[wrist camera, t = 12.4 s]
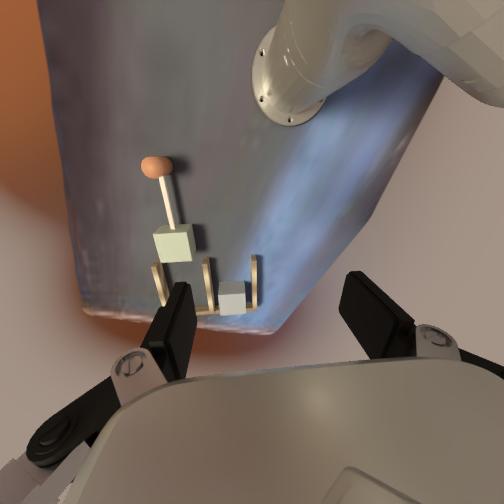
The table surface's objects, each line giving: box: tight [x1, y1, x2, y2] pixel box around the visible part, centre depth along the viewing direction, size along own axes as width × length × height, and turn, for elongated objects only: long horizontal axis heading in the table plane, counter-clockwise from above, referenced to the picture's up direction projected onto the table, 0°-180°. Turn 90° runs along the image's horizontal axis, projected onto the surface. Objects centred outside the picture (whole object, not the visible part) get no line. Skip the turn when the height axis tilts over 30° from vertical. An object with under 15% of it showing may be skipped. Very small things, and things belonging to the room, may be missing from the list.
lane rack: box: [151, 255, 257, 315], centre depth 46 cm, size 15×22×3 cm
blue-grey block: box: [218, 281, 246, 316], centre depth 47 cm, size 6×6×5 cm
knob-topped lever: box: [141, 156, 196, 263], centre depth 36 cm, size 18×6×6 cm, turn 2°
